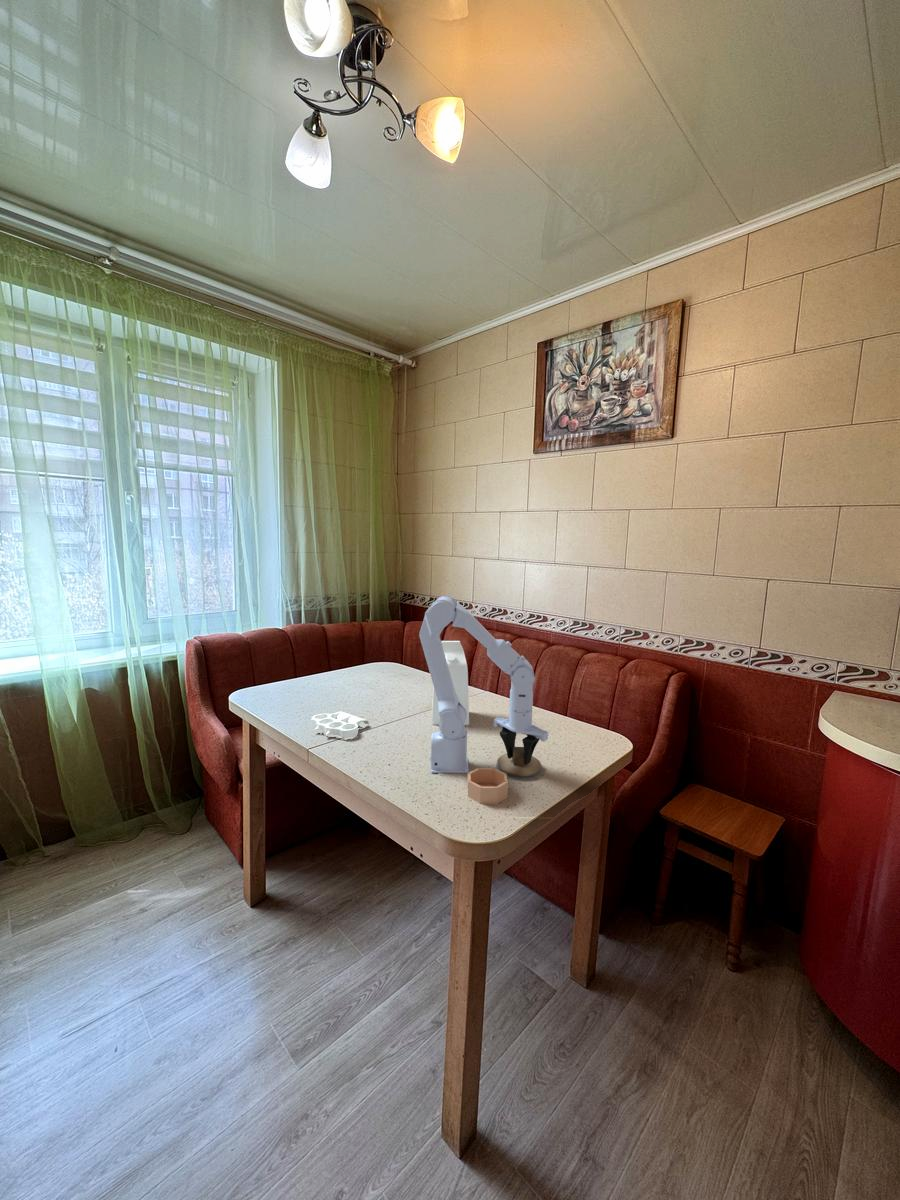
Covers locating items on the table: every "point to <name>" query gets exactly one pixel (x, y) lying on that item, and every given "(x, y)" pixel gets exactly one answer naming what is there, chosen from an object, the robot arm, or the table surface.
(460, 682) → the milk
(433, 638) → the robot arm
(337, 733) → the white holed plate
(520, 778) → the mat
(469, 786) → the bowl
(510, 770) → the lid
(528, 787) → the table surface
